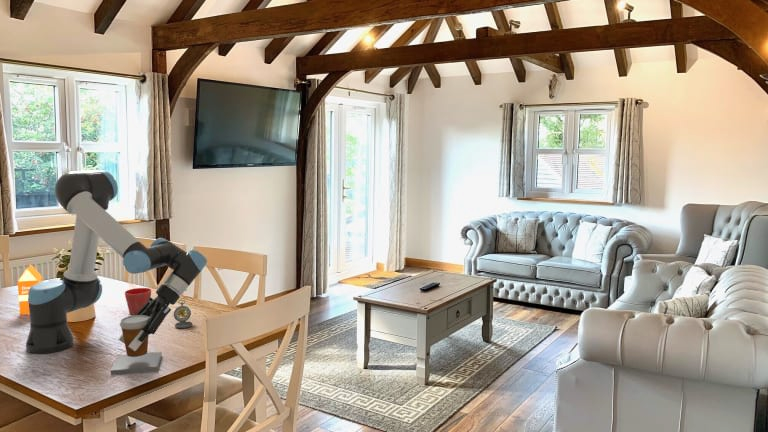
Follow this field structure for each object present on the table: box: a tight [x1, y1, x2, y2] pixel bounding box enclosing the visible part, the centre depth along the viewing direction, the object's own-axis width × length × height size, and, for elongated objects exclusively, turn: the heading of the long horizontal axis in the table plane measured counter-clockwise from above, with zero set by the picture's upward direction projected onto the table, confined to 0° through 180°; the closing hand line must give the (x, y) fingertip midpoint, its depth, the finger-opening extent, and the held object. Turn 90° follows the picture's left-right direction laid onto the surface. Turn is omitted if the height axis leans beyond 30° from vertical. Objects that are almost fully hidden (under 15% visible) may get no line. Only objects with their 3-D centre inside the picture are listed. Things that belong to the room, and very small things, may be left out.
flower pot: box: [124, 287, 152, 316], centre depth 261 cm, size 11×11×10 cm
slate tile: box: [110, 351, 162, 376], centre depth 202 cm, size 14×14×2 cm
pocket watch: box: [173, 299, 193, 329], centre depth 244 cm, size 8×8×10 cm
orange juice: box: [17, 264, 43, 315], centre depth 261 cm, size 8×9×20 cm
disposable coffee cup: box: [119, 315, 150, 357], centre depth 201 cm, size 10×10×12 cm
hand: (126, 345), depth 199 cm, fingers closed on disposable coffee cup, 8 cm apart
